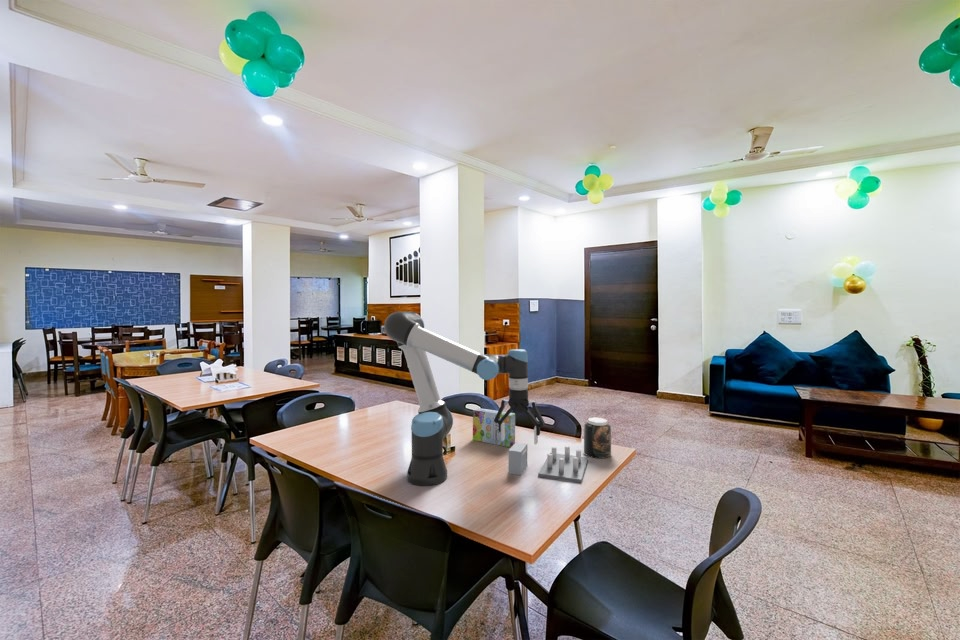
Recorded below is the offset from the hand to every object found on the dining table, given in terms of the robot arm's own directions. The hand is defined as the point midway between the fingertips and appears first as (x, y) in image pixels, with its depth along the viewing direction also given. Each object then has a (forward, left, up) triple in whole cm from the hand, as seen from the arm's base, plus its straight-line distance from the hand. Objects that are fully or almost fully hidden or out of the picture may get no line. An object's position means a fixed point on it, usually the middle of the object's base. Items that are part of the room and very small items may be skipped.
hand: (519, 441), depth 159 cm
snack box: (-20, +28, -11) cm, 36 cm away
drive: (0, 0, -11) cm, 11 cm away
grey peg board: (+17, +8, -11) cm, 21 cm away
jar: (+28, +30, -11) cm, 42 cm away
